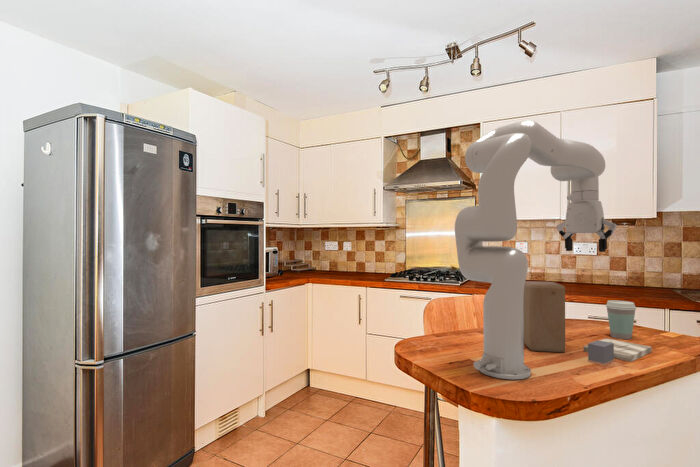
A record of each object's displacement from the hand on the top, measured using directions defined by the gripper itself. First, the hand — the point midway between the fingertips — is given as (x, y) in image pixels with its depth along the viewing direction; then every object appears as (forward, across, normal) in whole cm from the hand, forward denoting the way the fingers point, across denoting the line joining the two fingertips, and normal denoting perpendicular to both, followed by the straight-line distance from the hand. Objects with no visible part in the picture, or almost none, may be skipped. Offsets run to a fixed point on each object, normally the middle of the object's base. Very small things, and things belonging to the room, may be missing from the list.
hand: (585, 251), depth 122 cm
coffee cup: (+30, +3, +19) cm, 36 cm away
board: (+30, +9, -1) cm, 31 cm away
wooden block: (+30, -6, -15) cm, 34 cm away
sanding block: (+30, +10, -15) cm, 35 cm away
